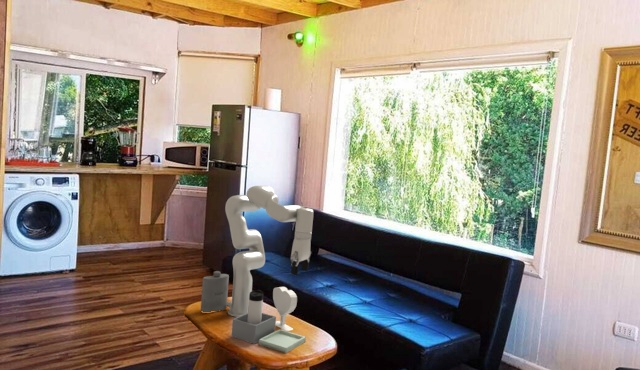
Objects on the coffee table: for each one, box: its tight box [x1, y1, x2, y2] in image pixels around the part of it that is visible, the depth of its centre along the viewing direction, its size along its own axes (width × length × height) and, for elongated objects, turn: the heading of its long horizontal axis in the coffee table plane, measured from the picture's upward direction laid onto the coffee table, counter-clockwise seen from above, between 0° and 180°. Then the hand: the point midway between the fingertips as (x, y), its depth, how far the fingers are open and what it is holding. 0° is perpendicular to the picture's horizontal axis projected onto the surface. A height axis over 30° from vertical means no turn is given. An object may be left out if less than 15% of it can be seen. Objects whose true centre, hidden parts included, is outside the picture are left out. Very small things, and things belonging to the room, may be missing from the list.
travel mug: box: [247, 289, 264, 325], centre depth 226 cm, size 6×7×20 cm
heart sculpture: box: [272, 286, 298, 332], centre depth 241 cm, size 16×5×18 cm, turn 38°
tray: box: [258, 328, 307, 354], centre depth 220 cm, size 14×16×2 cm
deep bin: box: [231, 312, 277, 345], centre depth 226 cm, size 13×16×8 cm
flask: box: [200, 270, 230, 312], centre depth 254 cm, size 15×6×20 cm, turn 139°
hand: (299, 272), depth 228 cm, fingers open, 9 cm apart
